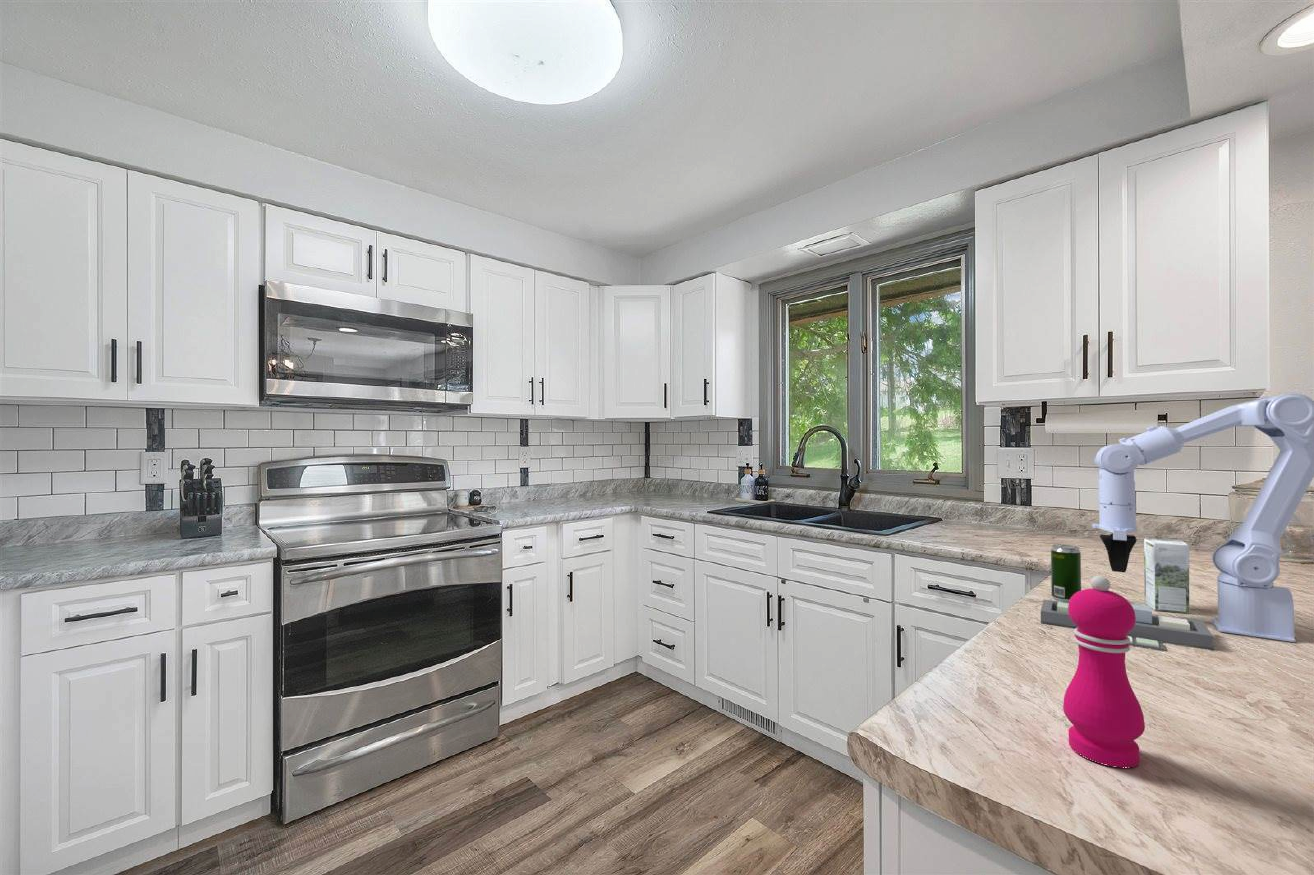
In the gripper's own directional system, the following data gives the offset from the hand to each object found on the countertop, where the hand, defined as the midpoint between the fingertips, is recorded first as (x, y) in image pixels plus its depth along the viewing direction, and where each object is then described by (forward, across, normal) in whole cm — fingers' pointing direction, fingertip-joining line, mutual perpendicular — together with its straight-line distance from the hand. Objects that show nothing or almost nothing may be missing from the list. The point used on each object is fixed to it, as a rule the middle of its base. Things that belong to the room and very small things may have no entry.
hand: (1118, 571), depth 112 cm
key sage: (+8, +9, -8) cm, 15 cm away
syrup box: (+10, -13, +8) cm, 18 cm away
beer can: (+9, -9, -9) cm, 16 cm away
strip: (+9, +18, -1) cm, 20 cm away
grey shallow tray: (+9, +9, 0) cm, 13 cm away
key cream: (+8, +9, +7) cm, 14 cm away
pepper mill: (+9, +65, -5) cm, 66 cm away
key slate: (+7, +9, +2) cm, 12 cm away
